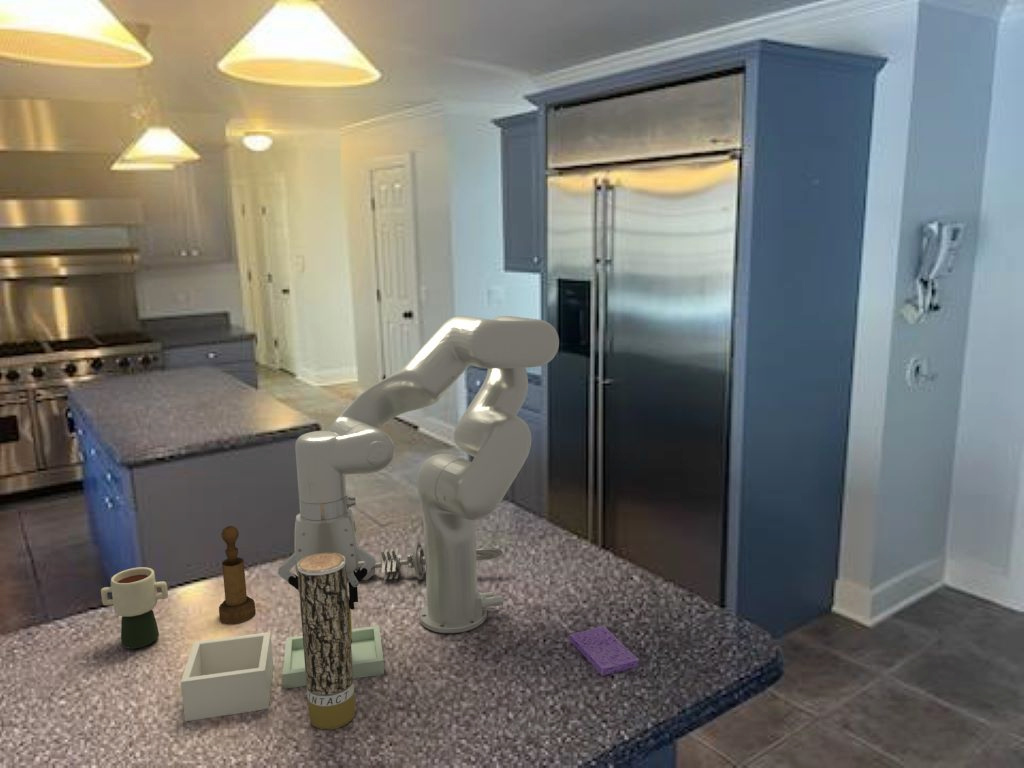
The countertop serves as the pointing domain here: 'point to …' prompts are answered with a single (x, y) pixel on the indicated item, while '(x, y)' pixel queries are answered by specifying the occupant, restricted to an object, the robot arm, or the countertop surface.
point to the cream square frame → (228, 676)
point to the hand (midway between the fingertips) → (330, 607)
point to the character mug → (135, 604)
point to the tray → (363, 656)
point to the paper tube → (326, 639)
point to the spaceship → (415, 561)
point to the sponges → (604, 650)
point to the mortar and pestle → (234, 583)
